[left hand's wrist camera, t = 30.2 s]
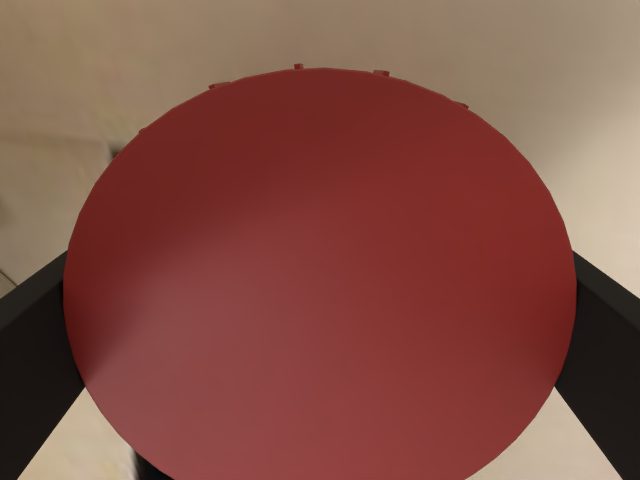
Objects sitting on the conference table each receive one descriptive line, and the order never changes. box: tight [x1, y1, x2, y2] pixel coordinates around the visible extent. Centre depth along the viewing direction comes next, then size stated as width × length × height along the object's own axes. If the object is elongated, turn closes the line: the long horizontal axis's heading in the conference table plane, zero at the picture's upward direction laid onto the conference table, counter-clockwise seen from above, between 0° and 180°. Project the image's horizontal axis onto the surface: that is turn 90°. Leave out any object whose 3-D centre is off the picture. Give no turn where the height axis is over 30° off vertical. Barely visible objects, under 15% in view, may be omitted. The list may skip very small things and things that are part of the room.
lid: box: [63, 64, 577, 480], centre depth 11 cm, size 11×11×2 cm
